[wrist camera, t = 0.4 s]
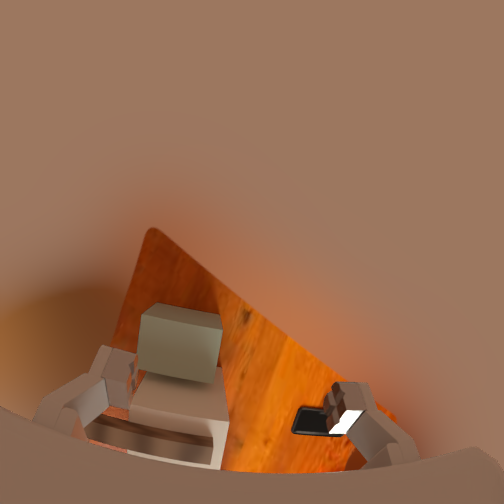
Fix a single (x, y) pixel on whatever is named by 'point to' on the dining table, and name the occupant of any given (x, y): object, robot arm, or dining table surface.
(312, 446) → the dining table surface
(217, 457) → the white pedestal
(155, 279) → the dining table surface
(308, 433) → the phone
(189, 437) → the walnut bar
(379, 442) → the robot arm
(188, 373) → the sage base
